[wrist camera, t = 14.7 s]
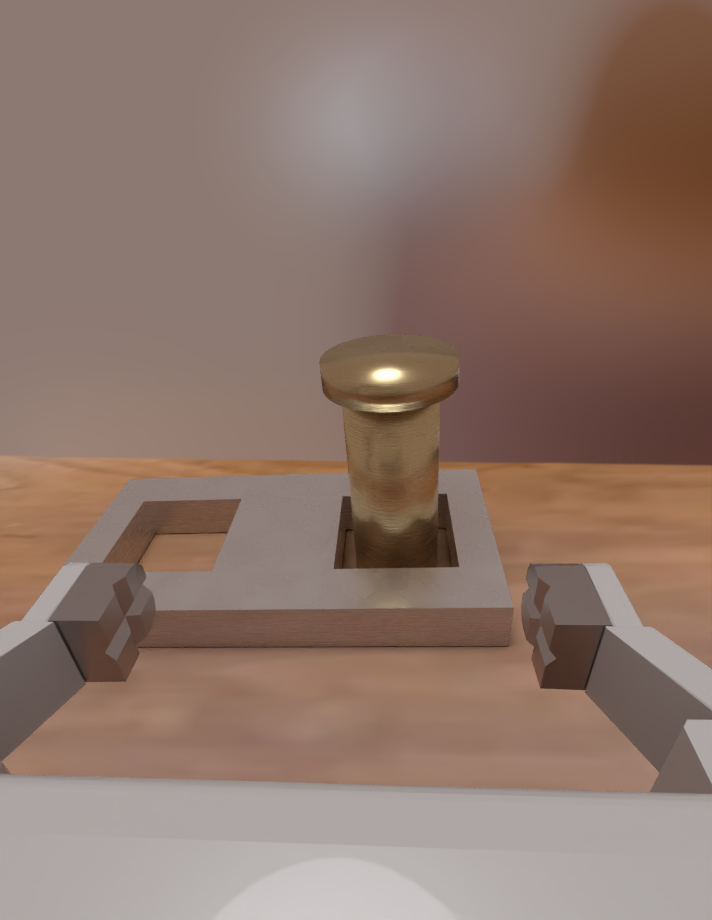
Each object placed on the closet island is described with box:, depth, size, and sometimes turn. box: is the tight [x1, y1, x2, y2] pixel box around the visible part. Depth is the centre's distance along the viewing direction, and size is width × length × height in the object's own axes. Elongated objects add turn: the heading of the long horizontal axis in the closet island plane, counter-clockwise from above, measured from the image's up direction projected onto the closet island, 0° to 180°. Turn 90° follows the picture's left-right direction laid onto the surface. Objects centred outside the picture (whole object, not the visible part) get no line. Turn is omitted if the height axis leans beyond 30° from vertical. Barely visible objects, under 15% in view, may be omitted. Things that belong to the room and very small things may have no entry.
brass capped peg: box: [320, 334, 460, 569], centre depth 25 cm, size 6×6×12 cm
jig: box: [30, 469, 514, 647], centre depth 28 cm, size 22×11×2 cm, turn 87°
